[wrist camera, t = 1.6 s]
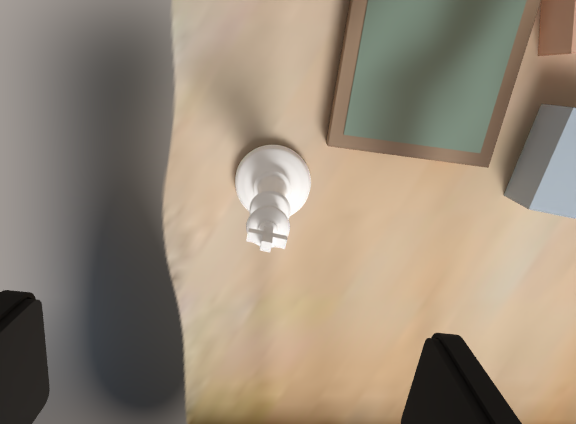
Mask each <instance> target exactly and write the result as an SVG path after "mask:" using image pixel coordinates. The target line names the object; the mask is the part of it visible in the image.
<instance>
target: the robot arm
mask: <svg viewBox="0 0 576 424" xmlns="http://www.w3.org/2000/svg"><path fill="white" fill-rule="evenodd" d="M48 396H49V378H48V366H47V356H46V345H45V333H44V322H43V312H42V304H41V302H40V300H36V299H35V296H34V295H33V294H32V293H30V292H19V291H9V290H5V291H2V292H0V424H32V423H33V421H34V420H35V419H36V417H37V415H38V414H39V413H40V411H41V410H42V408H43V407H44V405H45V404H46V401H47V399H48ZM401 424H522V423H521V422H520V421H519V419H518V418H517V416H516V415H515V413H514V412H513V410H512V409H511V408H510V406H509V405H508V403H507V402H506V400H505V399H504V398H503V396H502V395H501V393H500V392H499V390H498V389H497V387H496V386H495V385H494V383H493V382H492V380H491V379H490V377H489V376H488V375H487V373H486V372H485V370H484V369H483V367H482V366H481V364H480V363H479V362H478V360H477V359H476V357H475V356H474V354H473V353H472V351H471V350H470V349H469V347H468V346H467V344H466V343H465V341H464V340H463V339H462V338H461V336H459V335H453V334H443V333H435V334H434V335H433V336H432V338H427V339H426V341H425V343H424V346H423V350H422V353H421V356H420V359H419V363H418V366H417V369H416V372H415V376H414V379H413V382H412V386H411V389H410V392H409V395H408V399H407V402H406V405H405V409H404V412H403V415H402V419H401Z"/></svg>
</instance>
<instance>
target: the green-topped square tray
mask: <svg viewBox="0 0 576 424" xmlns="http://www.w3.org/2000/svg"><path fill="white" fill-rule="evenodd" d="M540 2H541V0H350V3H349V9H348V15H347V21H346V27H345V33H344V39H343V45H342V51H341V57H340V62H339V68H338V74H337V80H336V86H335V92H334V98H333V104H332V110H331V116H330V122H329V128H328V134H327V140H326V144H327V145H328V146H331V147H338V148H346V149H353V150H361V151H368V152H376V153H383V154H391V155H398V156H405V157H413V158H420V159H428V160H435V161H443V162H450V163H458V164H465V165H473V166H480V167H489V164H490V161H491V157H492V154H493V151H494V148H495V145H496V142H497V138H498V135H499V132H500V129H501V126H502V123H503V119H504V116H505V113H506V110H507V107H508V103H509V100H510V97H511V94H512V91H513V88H514V84H515V81H516V78H517V75H518V72H519V69H520V65H521V62H522V59H523V56H524V53H525V50H526V46H527V43H528V40H529V37H530V34H531V30H532V27H533V24H534V21H535V18H536V15H537V11H538V8H539V5H540Z"/></svg>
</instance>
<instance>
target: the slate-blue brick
mask: <svg viewBox="0 0 576 424" xmlns="http://www.w3.org/2000/svg"><path fill="white" fill-rule="evenodd" d="M504 196H506V197H508V198H509V199H511V200H513V201H515V202H517V203H518V204H520V205H522V206H524V207H526V208H527V209H530V210H535V211H540V212H545V213H550V214H554V215H559V216H564V217H569V218H574V219H575V218H576V108H573V107H565V106H556V105H547V104H541V106H540V108H539V111H538V113H537V116H536V118H535V121H534V123H533V125H532V128H531V130H530V133H529V135H528V137H527V140H526V142H525V145H524V147H523V150H522V152H521V154H520V157H519V159H518V162H517V164H516V166H515V169H514V171H513V174H512V176H511V179H510V181H509V183H508V186H507V188H506V191H505V193H504Z"/></svg>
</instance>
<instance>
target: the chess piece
mask: <svg viewBox="0 0 576 424" xmlns="http://www.w3.org/2000/svg"><path fill="white" fill-rule="evenodd" d="M235 187H236V192H237V195H238V198H239V200H240V202H241V203H242V205H243V206H244V207H245V208H246V209H247V210H248V211H249V212H250V216H249V218H248V220H247V224H246V229H247V234H248V235H247V240H246V241H248V242H253V243H255V244H257V245H259V246H260V250H261V251H266V252H270V251H271V247H278V248H283V249H285V246H286V242H287V237H288V235H289V232H290V223H289V220H288V219H289V217H290V216H291V215H293V214H294V213H296V212H297V211H298V210H299V209H300V208H301V207H302V206H303V205H304V203H305V201H306V200H307V197H308V195H309V192H310V187H311V177H310V172H309V169H308V167H307V165H306V163H305V161H304V160H303V159H302V157H301V156H300V155H299V154H297V153H296V152H295V151H293V150H291V149H290V148H287V147H285V146H281V145H264V146H261V147H258V148H256V149H254V150H252V151H251V152H249V153H248V154H247V155H246V156H245V157H244V158H243V159H242V161H241V162H240V164H239V166H238V168H237V171H236V176H235Z"/></svg>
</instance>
